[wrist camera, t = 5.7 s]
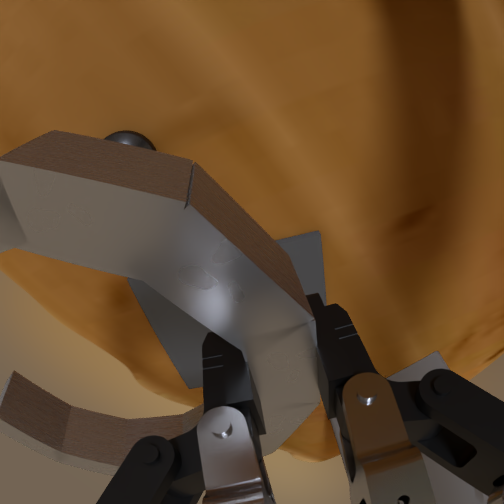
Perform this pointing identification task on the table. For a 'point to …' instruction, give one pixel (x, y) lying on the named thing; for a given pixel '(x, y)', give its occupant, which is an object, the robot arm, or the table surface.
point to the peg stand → (131, 139)
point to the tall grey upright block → (442, 481)
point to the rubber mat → (193, 332)
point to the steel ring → (154, 282)
